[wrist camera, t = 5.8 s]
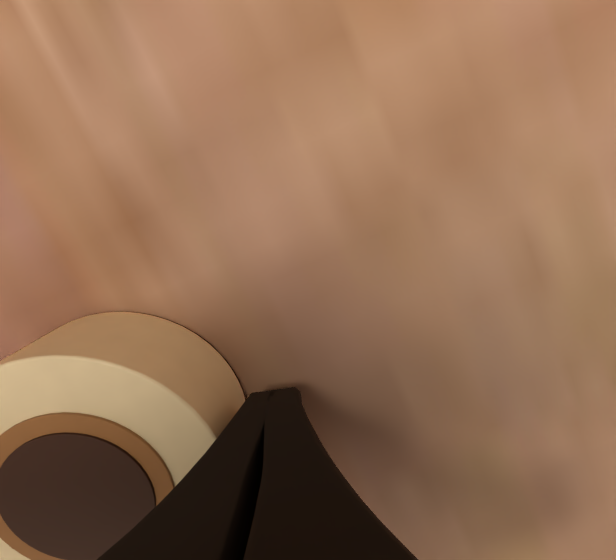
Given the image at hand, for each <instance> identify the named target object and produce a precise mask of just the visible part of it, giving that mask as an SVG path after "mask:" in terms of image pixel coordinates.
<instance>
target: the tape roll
mask: <svg viewBox="0 0 616 560" xmlns="http://www.w3.org/2000/svg"><path fill="white" fill-rule="evenodd" d="M244 402H245V397H244V393H243V391H242V388H241V386H240V384H239V381H238V379H237V377H236V376H235V374H234V372H233V371H232V369H231V368H230V366H229V365H228V363H227V362H226V361H225V360H224V358H223V357H222V356H221V355H220V354H219V353H218V352H217V351H216V350H215V349H214V348H213V347H212V346H211V345H210V344H209V343H207V342H206V341H205V340H203V339H202V338H201V337H199V336H198V335H197V334H195V333H193V332H191V331H190V330H188V329H186V328H184V327H183V326H180V325H178V324H176V323H173V322H171V321H169V320H166V319H162V318H159V317H156V316H152V315H147V314H141V313H135V312H107V313H99V314H94V315H89V316H85V317H82V318H79V319H76V320H73V321H70V322H68V323H66V324H64V325H62V326H61V327H59V328H57V329H55V330H53V331H51V332H50V333H48V334H46V335H45V336H43V337H41V338H39V339H38V340H36V341H34V342H32V343H31V344H29V345H27V346H25V347H24V348H22V349H20V350H19V351H17V352H15V353H13V354H12V355H10V356H8V357H6V358H5V359H3V360H1V361H0V560H97V559H98V558H99V557H100V556H101V555H103V554H104V553H105V552H106V551H107V550H108V549H110V548H111V547H112V546H113V545H114V544H115V543H117V542H118V541H119V540H120V539H121V538H122V537H124V536H125V535H126V534H127V533H128V532H129V531H130V530H131V529H132V528H134V527H135V526H136V525H137V524H138V523H139V522H140V521H141V520H142V519H143V518H144V517H145V516H146V515H147V514H148V513H149V512H150V511H151V510H152V509H153V508H155V507H156V506H157V505H158V504H159V503H160V502H161V501H162V500H163V499H164V498H165V497H166V496H167V495H168V494H169V493H170V492H171V491H172V489H173V488H174V487H175V486H176V485H177V484H178V483H179V482H180V481H181V480H182V479H183V478H184V477H185V475H186V474H187V473H188V472H189V471H190V470H191V469H192V467H193V466H194V465H195V464H196V463H197V462H198V461H199V459H200V458H201V457H202V456H203V455H204V454H205V452H206V451H207V450H208V449H209V448H210V446H211V445H212V444H213V442H214V441H215V440H216V439H217V437H218V436H219V435H220V434H221V432H222V431H223V430H224V429H225V427H226V426H227V425H228V423H229V422H230V421H231V419H232V418H233V417H234V415H235V414H236V413H237V411H238V410H239V409H240V407H241V406H242V405H243V403H244Z"/></svg>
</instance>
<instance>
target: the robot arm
mask: <svg viewBox="0 0 616 560" xmlns="http://www.w3.org/2000/svg"><path fill="white" fill-rule="evenodd" d="M97 560H418V559H417V558H416V557H415V556H414V555H413V554H412V553H411V552H410V551H409V550H408V549H407V548H406V547H405V546H404V545H403V544H402V543H401V542H400V541H399V540H398V539H397V538H396V537H395V536H394V535H393V534H392V533H391V531H390V530H389V529H388V528H387V527H386V526H385V525H384V524H383V523H382V522H381V521H380V520H379V519H378V518H377V517H376V515H375V514H374V513H373V512H372V511H371V510H370V509H369V507H368V506H367V505H366V504H365V503H364V502H363V500H362V499H361V498H360V497H359V496H358V494H357V493H356V492H355V491H354V489H353V488H352V487H351V486H350V484H349V483H348V482H347V480H346V479H345V478H344V476H343V475H342V474H341V472H340V471H339V469H338V468H337V467H336V465H335V464H334V462H333V461H332V459H331V458H330V456H329V455H328V453H327V452H326V450H325V448H324V447H323V445H322V443H321V442H320V440H319V438H318V436H317V434H316V433H315V431H314V429H313V427H312V425H311V423H310V421H309V419H308V417H307V415H306V412H305V410H304V407H303V405H302V400H301V394H300V390H298V389H297V388H296V387H292V388H284V389H277V390H270V391H263V392H255V393H251V394H250V396H249V397H248V398H247V399H246V401H245V402H244V403H243V405H242V406H241V407H240V409H239V410H238V411H237V413H236V414H235V415H234V417H233V418H232V419H231V421H230V422H229V423H228V425H227V426H226V427H225V429H224V430H223V431H222V432H221V434H220V435H219V436H218V437H217V439H216V440H215V441H214V442H213V444H212V445H211V446H210V448H209V449H208V450H207V451H206V452H205V454H204V455H203V456H202V457H201V458H200V459H199V461H198V462H197V463H196V464H195V465H194V466H193V467H192V469H191V470H190V471H189V472H188V473H187V474H186V475H185V477H184V478H183V479H182V480H181V481H180V482H179V483H178V484H177V485H176V486H175V487H174V488H173V489H172V491H171V492H170V493H169V494H168V495H167V496H166V497H165V498H164V499H163V500H162V501H161V502H160V503H159V504H158V505H157V506H156V507H155V508H153V509H152V510H151V511H150V512H149V513H148V514H147V515H146V516H145V517H144V518H143V519H142V520H141V521H140V522H139V523H138V524H137V525H136V526H135V527H134V528H132V529H131V530H130V531H129V532H128V533H127V534H126V535H125V536H124V537H122V538H121V539H120V540H119V541H118V542H117V543H115V544H114V545H113V546H112V547H111V548H110V549H108V550H107V551H106V552H105V553H104V554H103V555H101V556H100V557H99V558H98V559H97Z"/></svg>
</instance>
